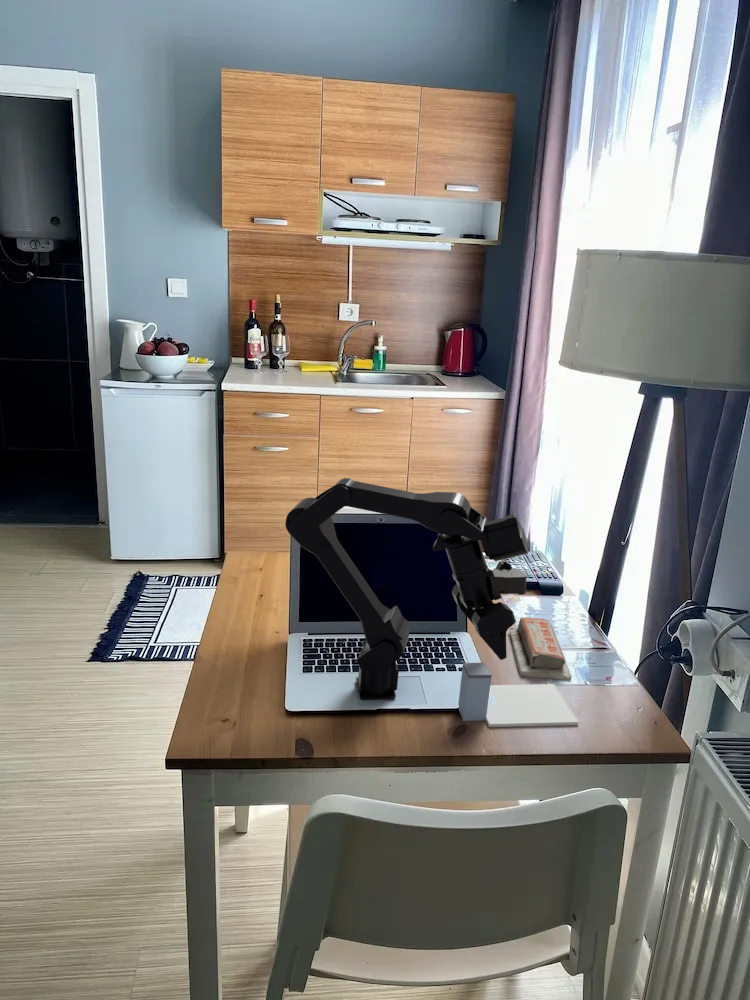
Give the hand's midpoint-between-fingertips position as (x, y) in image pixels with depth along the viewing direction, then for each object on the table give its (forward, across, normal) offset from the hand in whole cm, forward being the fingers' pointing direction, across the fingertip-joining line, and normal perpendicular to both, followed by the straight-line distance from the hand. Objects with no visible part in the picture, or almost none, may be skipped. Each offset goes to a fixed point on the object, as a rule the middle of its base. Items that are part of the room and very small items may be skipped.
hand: (495, 648), depth 132 cm
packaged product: (+15, +21, -11) cm, 28 cm away
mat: (+14, +3, -2) cm, 14 cm away
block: (+10, +1, +8) cm, 13 cm away
